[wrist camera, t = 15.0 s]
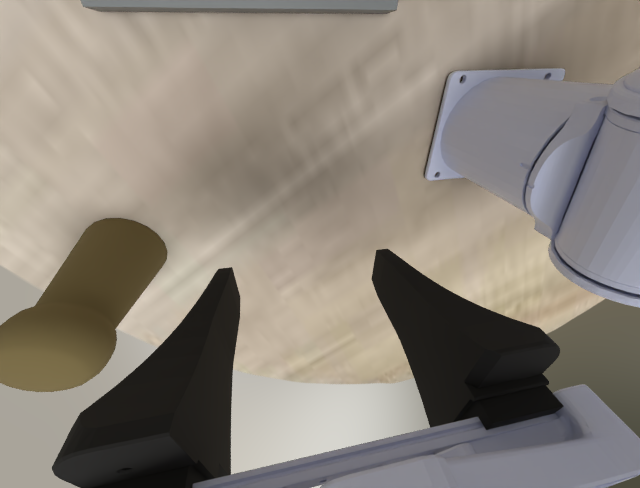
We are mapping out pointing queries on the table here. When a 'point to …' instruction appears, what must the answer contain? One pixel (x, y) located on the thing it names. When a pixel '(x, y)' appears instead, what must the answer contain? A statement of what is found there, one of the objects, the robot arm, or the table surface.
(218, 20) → the table surface
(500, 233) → the table surface
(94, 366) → the cork
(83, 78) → the table surface
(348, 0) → the breaker panel
